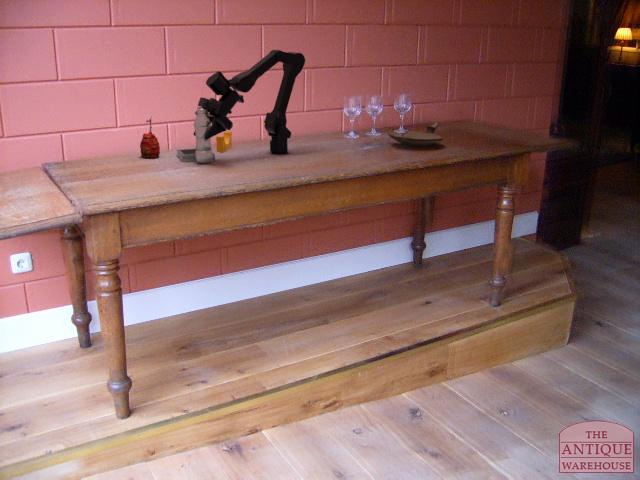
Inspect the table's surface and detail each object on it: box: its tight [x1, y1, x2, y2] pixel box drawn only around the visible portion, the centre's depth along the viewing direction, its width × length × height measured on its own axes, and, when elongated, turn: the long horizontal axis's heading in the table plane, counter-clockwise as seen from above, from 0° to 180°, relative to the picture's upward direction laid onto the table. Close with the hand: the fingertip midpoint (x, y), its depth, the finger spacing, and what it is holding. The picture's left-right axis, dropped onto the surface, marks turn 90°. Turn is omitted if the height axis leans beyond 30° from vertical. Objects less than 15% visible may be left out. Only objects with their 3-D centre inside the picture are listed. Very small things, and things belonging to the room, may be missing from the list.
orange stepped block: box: [215, 130, 233, 154], centre depth 264 cm, size 12×4×6 cm, turn 171°
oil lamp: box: [387, 122, 443, 148], centre depth 279 cm, size 22×30×8 cm
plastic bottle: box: [193, 106, 214, 164], centre depth 238 cm, size 6×7×20 cm
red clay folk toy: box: [139, 116, 161, 159], centre depth 248 cm, size 8×7×15 cm
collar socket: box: [176, 148, 216, 163], centre depth 249 cm, size 12×12×2 cm
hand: (199, 137), depth 238 cm, fingers open, 8 cm apart
